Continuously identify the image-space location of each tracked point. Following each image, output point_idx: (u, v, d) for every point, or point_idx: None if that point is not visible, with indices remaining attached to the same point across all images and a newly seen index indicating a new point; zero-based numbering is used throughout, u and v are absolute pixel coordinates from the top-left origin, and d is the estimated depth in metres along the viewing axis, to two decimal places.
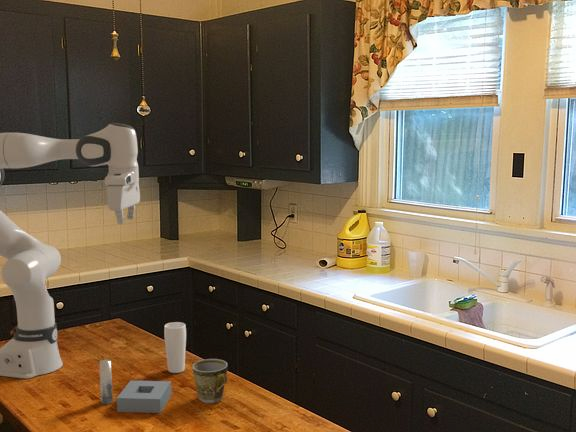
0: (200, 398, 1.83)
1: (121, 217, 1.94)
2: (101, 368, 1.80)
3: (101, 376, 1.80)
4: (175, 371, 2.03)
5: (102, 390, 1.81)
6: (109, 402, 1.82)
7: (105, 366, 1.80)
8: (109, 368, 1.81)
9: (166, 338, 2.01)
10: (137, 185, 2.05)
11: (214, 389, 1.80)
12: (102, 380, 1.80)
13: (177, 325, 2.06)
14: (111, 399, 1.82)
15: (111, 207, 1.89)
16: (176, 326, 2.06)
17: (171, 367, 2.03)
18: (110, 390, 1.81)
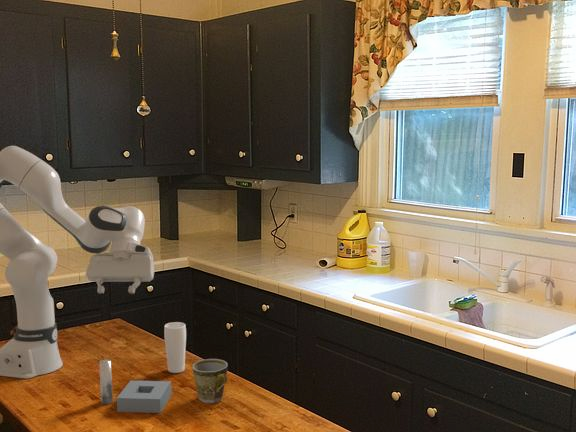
0: (200, 398, 1.83)
1: (136, 287, 1.93)
2: (101, 368, 1.80)
3: (101, 376, 1.80)
4: (175, 371, 2.03)
5: (102, 390, 1.81)
6: (109, 402, 1.82)
7: (105, 366, 1.80)
8: (109, 368, 1.81)
9: (166, 338, 2.01)
10: None
11: (214, 389, 1.80)
12: (102, 380, 1.80)
13: (177, 325, 2.06)
14: (111, 399, 1.82)
15: (151, 274, 1.94)
16: (176, 326, 2.06)
17: (171, 367, 2.03)
18: (110, 390, 1.81)
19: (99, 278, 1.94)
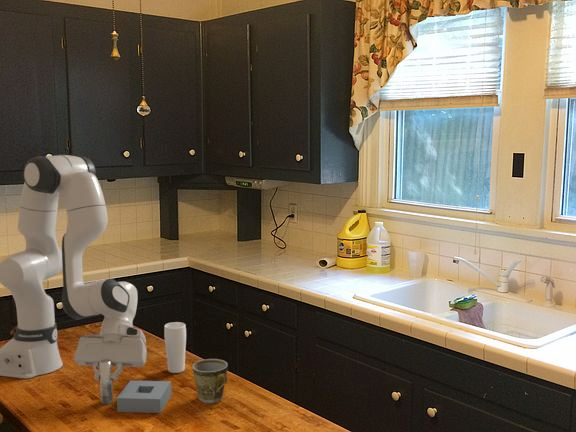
0: (200, 398, 1.83)
1: (118, 373, 1.83)
2: (101, 368, 1.80)
3: (101, 376, 1.80)
4: (175, 371, 2.03)
5: (102, 390, 1.81)
6: (109, 402, 1.82)
7: (105, 366, 1.80)
8: (109, 368, 1.81)
9: (166, 338, 2.01)
10: None
11: (214, 389, 1.80)
12: (102, 380, 1.80)
13: (177, 325, 2.06)
14: (111, 399, 1.82)
15: (143, 359, 1.83)
16: (176, 326, 2.06)
17: (171, 367, 2.03)
18: (110, 390, 1.81)
19: (96, 363, 1.83)
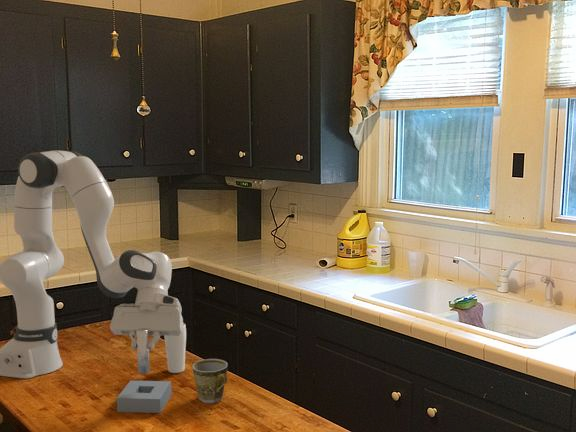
0: (200, 398, 1.83)
1: (155, 342, 1.80)
2: (138, 336, 1.78)
3: (138, 345, 1.78)
4: (175, 371, 2.03)
5: (139, 359, 1.79)
6: (146, 371, 1.79)
7: (142, 335, 1.77)
8: (146, 336, 1.78)
9: (166, 338, 2.01)
10: None
11: (214, 389, 1.80)
12: (139, 349, 1.78)
13: None
14: (148, 368, 1.80)
15: (180, 328, 1.81)
16: None
17: (171, 367, 2.03)
18: (147, 359, 1.79)
19: (133, 332, 1.81)
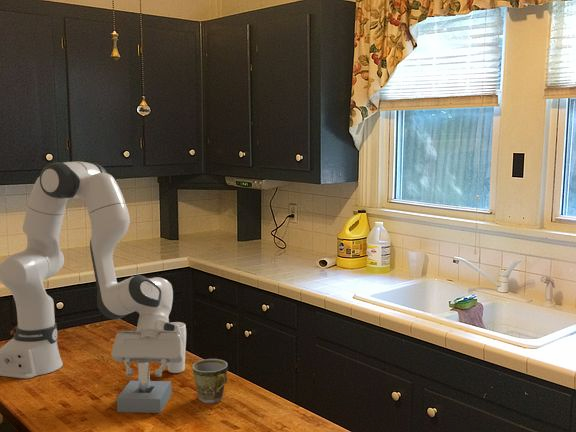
0: (200, 398, 1.83)
1: (163, 369, 1.81)
2: (140, 369, 1.79)
3: (139, 377, 1.80)
4: (175, 371, 2.03)
5: (140, 391, 1.80)
6: None
7: (144, 367, 1.79)
8: (147, 369, 1.80)
9: None
10: None
11: (214, 389, 1.80)
12: (140, 381, 1.80)
13: (177, 325, 2.06)
14: None
15: (181, 355, 1.82)
16: None
17: (171, 367, 2.03)
18: (148, 391, 1.81)
19: (127, 359, 1.82)
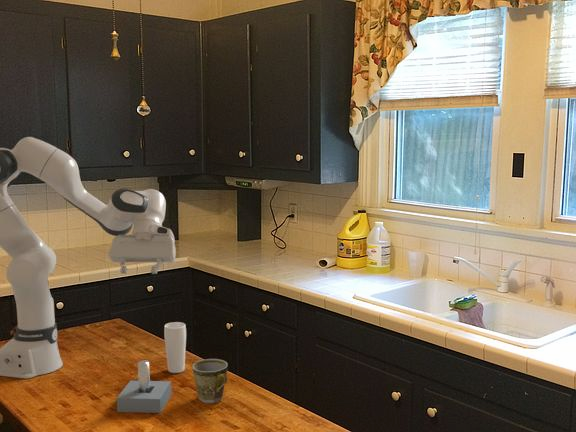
0: (200, 398, 1.83)
1: (158, 268, 1.96)
2: (140, 369, 1.79)
3: (139, 377, 1.80)
4: (175, 371, 2.03)
5: (140, 391, 1.80)
6: None
7: (144, 367, 1.79)
8: (147, 369, 1.80)
9: (166, 338, 2.01)
10: None
11: (214, 389, 1.80)
12: (140, 381, 1.80)
13: (177, 325, 2.06)
14: None
15: (173, 255, 1.97)
16: (176, 326, 2.06)
17: (171, 367, 2.03)
18: (148, 391, 1.81)
19: (122, 259, 1.97)
